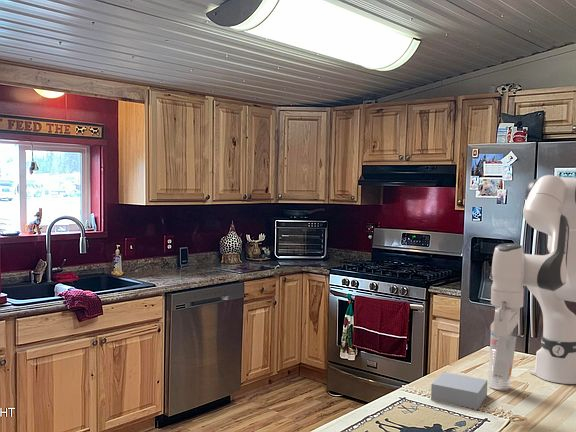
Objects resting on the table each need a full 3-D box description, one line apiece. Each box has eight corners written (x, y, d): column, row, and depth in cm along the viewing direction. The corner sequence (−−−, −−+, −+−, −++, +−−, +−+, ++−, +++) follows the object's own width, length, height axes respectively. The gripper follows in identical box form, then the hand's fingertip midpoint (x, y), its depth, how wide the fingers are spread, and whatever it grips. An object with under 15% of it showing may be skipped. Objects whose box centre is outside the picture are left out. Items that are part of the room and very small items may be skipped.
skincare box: (508, 381, 157) (513, 341, 155) (492, 377, 159) (498, 337, 157) (511, 375, 162) (517, 336, 160) (496, 371, 164) (501, 333, 163)
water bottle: (512, 392, 178) (514, 316, 177) (490, 390, 180) (492, 315, 179) (508, 385, 185) (510, 312, 184) (486, 383, 186) (489, 310, 185)
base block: (443, 386, 182) (443, 371, 182) (486, 395, 175) (487, 380, 175) (431, 399, 170) (431, 383, 170) (477, 409, 163) (477, 393, 163)
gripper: (512, 306, 148) (511, 357, 149) (523, 295, 166) (522, 340, 166) (488, 304, 152) (487, 353, 152) (501, 293, 169) (500, 337, 170)
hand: (505, 346), depth 159 cm, fingers closed on skincare box, 6 cm apart
